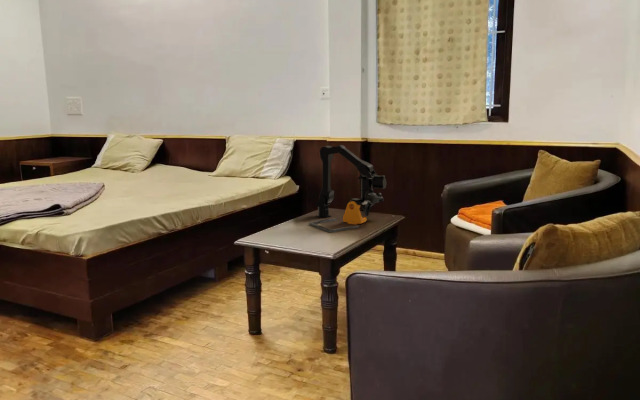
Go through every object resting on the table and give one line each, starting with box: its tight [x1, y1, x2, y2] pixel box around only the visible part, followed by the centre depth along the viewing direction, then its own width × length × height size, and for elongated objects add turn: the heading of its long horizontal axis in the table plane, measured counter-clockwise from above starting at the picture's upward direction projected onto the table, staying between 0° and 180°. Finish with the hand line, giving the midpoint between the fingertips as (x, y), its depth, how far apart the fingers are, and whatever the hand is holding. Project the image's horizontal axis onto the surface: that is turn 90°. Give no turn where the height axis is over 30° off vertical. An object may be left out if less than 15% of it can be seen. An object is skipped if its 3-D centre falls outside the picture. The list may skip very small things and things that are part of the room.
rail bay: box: [308, 217, 360, 234], centre depth 265 cm, size 21×18×1 cm
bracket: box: [342, 201, 367, 225], centre depth 271 cm, size 11×7×12 cm, turn 58°
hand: (366, 215), depth 276 cm, fingers closed
